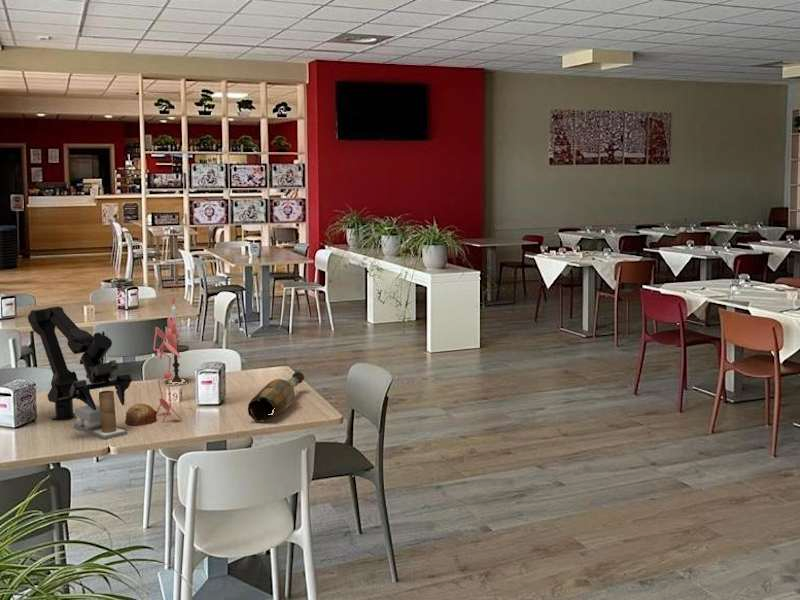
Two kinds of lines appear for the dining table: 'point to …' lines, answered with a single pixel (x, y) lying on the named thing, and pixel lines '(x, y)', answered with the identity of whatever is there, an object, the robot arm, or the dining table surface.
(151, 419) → the bread roll
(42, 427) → the dining table surface
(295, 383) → the decorative bottle
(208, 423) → the dining table surface
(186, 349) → the candlestick
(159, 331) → the figurine
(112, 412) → the walnut roller
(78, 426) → the grey stand
